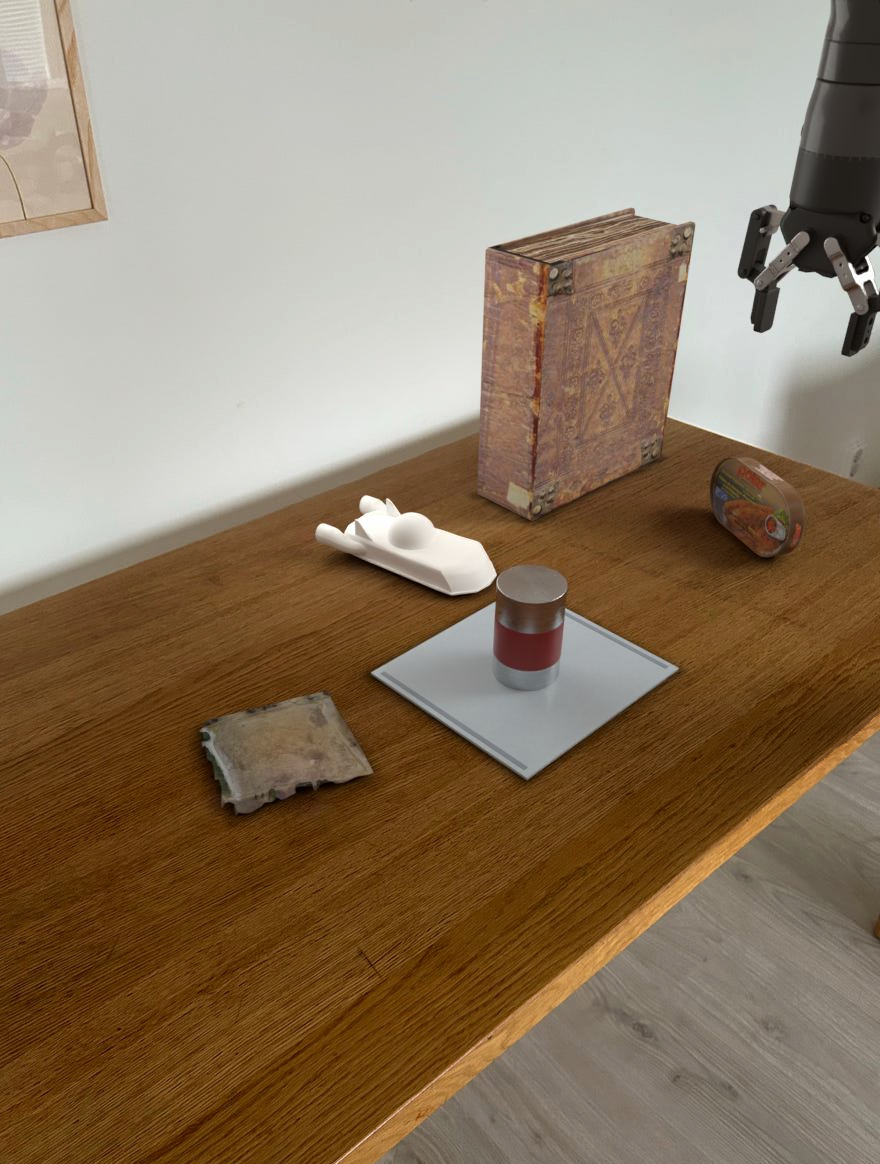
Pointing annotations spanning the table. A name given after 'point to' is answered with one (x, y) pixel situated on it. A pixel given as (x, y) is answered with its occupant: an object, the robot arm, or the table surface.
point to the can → (528, 626)
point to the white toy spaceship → (412, 548)
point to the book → (578, 357)
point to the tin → (757, 506)
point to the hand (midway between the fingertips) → (804, 341)
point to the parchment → (281, 750)
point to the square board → (515, 717)
